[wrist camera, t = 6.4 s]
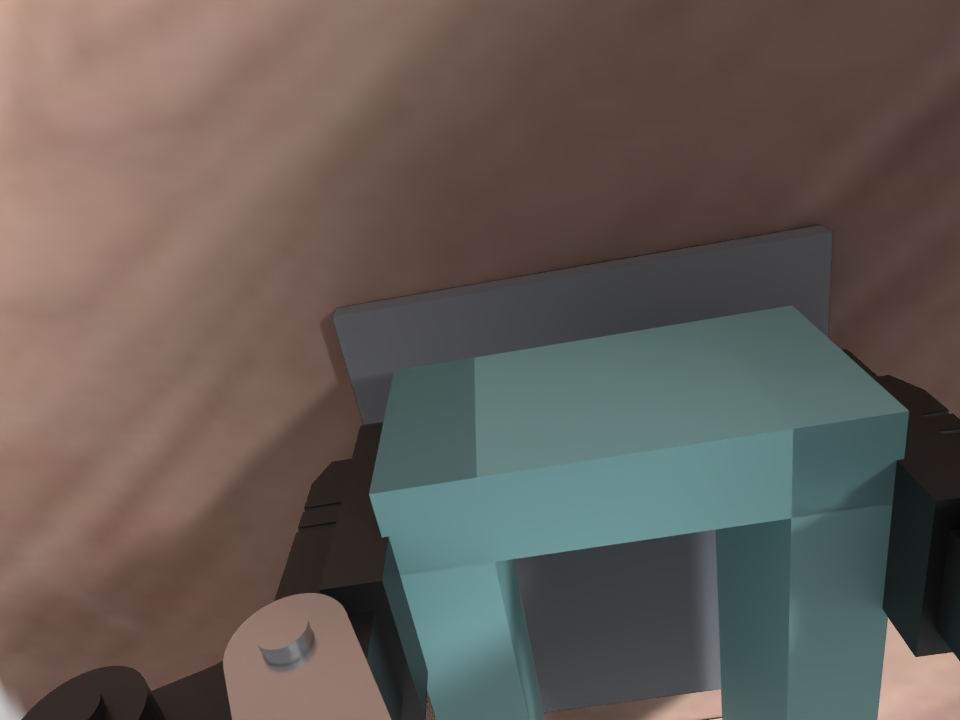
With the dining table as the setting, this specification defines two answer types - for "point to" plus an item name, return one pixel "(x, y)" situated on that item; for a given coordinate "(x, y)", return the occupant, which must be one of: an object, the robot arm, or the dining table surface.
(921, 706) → the dining table surface
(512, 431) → the c link
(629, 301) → the felt pad
